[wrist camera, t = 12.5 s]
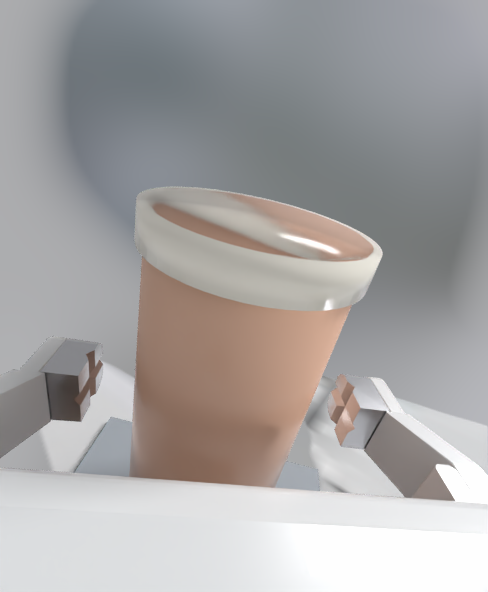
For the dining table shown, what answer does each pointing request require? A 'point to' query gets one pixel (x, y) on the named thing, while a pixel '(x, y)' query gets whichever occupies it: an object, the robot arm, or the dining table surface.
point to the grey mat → (117, 448)
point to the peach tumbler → (234, 329)
